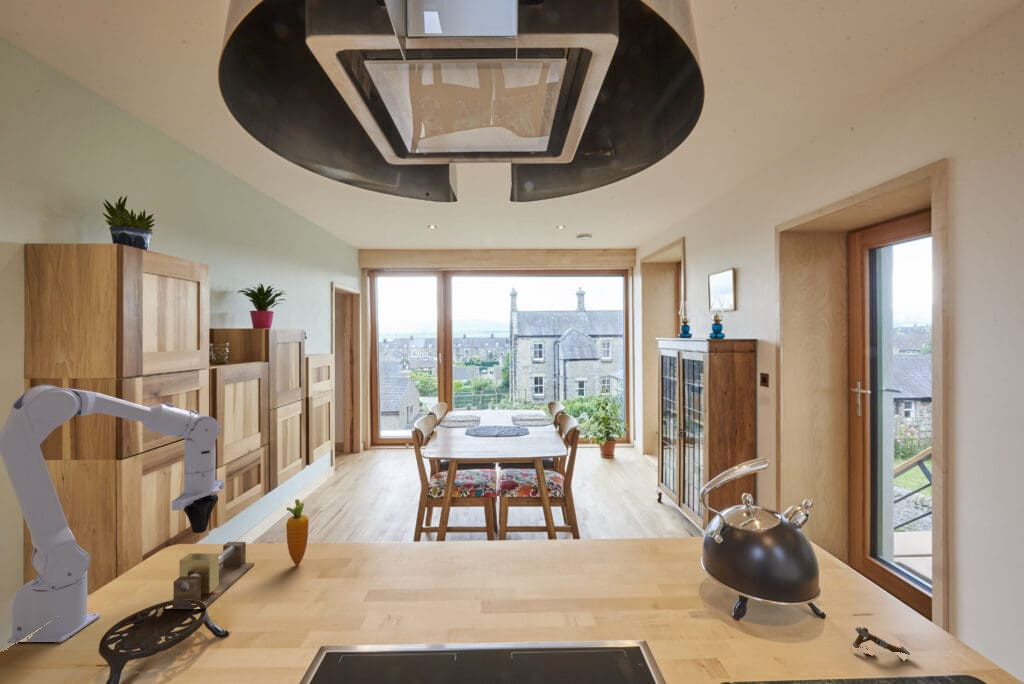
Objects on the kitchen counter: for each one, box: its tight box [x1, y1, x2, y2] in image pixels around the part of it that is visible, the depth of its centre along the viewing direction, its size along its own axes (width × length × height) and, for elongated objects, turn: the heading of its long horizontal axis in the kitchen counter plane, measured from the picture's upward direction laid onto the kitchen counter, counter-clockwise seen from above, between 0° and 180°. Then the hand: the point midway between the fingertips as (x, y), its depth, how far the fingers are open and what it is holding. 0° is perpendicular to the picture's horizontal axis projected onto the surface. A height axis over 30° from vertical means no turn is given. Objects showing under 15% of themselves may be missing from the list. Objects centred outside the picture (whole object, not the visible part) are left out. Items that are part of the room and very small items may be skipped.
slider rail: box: [170, 541, 255, 608], centre depth 99 cm, size 18×8×6 cm, turn 1°
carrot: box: [286, 499, 309, 566], centre depth 109 cm, size 5×5×15 cm
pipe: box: [179, 546, 236, 592], centre depth 99 cm, size 18×2×2 cm, turn 1°
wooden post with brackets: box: [851, 626, 911, 656], centre depth 78 cm, size 2×8×4 cm, turn 80°
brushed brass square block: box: [178, 552, 220, 594], centre depth 95 cm, size 3×6×7 cm, turn 91°
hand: (199, 531), depth 102 cm, fingers closed
